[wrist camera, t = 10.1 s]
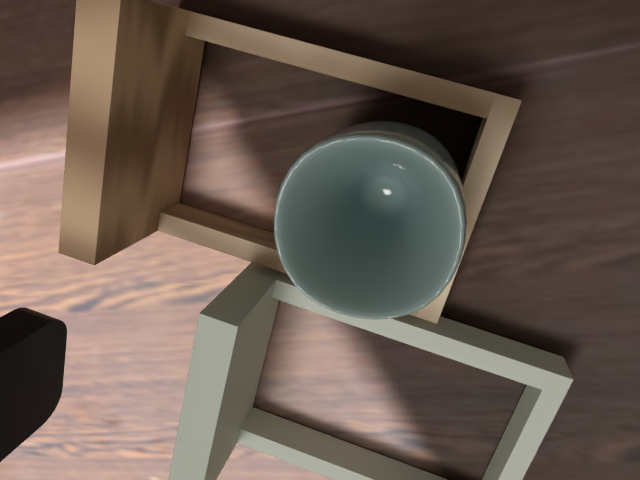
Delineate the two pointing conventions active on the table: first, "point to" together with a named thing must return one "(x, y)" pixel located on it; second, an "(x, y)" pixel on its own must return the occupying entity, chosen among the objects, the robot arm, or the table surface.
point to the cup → (372, 220)
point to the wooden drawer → (176, 121)
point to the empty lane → (313, 446)
